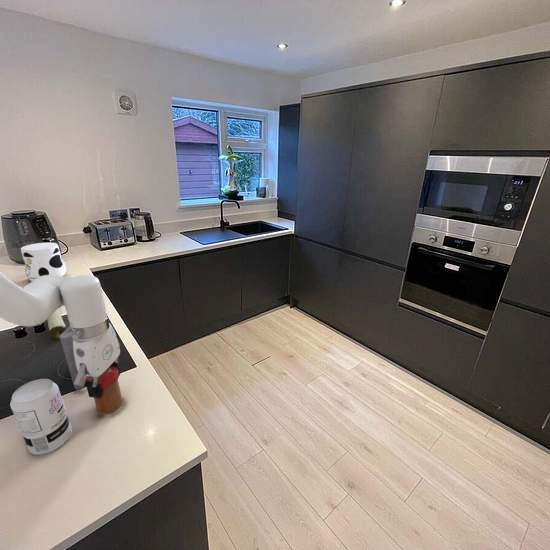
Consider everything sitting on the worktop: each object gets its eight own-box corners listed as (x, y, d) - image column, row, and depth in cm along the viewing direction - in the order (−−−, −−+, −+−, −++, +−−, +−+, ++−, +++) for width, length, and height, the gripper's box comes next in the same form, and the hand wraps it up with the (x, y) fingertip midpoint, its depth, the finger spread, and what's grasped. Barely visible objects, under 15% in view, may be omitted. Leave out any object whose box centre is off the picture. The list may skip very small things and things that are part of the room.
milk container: (19, 282, 149) (8, 249, 143) (51, 271, 165) (42, 240, 158) (46, 286, 146) (36, 252, 139) (75, 274, 161) (68, 243, 155)
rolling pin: (47, 309, 124) (44, 299, 122) (63, 306, 127) (60, 296, 125) (50, 346, 100) (46, 334, 98) (69, 340, 103) (66, 329, 101)
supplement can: (28, 437, 68) (7, 388, 62) (70, 419, 73) (54, 371, 67) (29, 464, 62) (7, 411, 56) (74, 442, 67) (58, 392, 61)
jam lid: (108, 391, 71) (107, 385, 70) (82, 389, 71) (80, 383, 70) (124, 372, 77) (123, 366, 76) (100, 370, 78) (98, 364, 77)
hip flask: (90, 356, 96) (77, 302, 88) (104, 354, 97) (91, 301, 89) (73, 390, 81) (54, 330, 74) (89, 388, 82) (72, 328, 75)
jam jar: (92, 414, 74) (84, 385, 71) (103, 396, 80) (96, 369, 76) (117, 413, 75) (110, 384, 71) (126, 395, 80) (120, 368, 77)
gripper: (79, 350, 60) (97, 414, 66) (126, 310, 76) (136, 365, 83) (45, 347, 60) (66, 411, 67) (99, 308, 76) (111, 363, 83)
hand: (105, 385), depth 75 cm, fingers closed on jam lid, 6 cm apart
